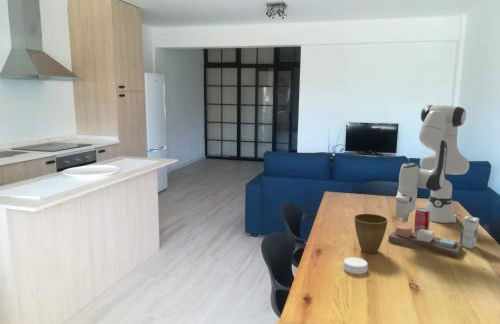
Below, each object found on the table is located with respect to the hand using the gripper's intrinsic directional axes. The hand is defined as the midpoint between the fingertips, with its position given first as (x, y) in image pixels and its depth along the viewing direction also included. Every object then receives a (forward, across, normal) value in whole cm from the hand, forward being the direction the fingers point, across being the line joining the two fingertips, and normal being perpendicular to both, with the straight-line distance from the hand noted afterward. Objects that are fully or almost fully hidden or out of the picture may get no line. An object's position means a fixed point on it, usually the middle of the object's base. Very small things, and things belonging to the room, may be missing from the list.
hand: (405, 222), depth 190 cm
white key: (+7, 0, +10) cm, 12 cm away
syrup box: (+10, -13, +27) cm, 31 cm away
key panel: (+10, 0, +10) cm, 14 cm away
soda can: (+10, -18, +4) cm, 21 cm away
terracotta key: (+7, 0, 0) cm, 7 cm away
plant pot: (+10, +23, -9) cm, 27 cm away
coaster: (+11, +46, -6) cm, 48 cm away
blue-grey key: (+9, 0, +20) cm, 22 cm away
